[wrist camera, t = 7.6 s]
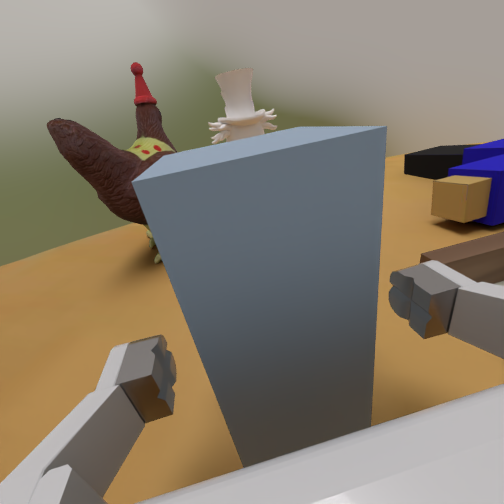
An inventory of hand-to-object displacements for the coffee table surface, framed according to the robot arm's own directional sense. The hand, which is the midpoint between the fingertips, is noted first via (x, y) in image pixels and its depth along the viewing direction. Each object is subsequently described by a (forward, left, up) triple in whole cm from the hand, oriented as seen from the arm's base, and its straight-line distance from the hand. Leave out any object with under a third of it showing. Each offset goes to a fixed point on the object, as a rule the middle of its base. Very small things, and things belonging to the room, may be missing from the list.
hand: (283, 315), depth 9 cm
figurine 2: (+21, +27, -7) cm, 35 cm away
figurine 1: (+4, +27, -7) cm, 28 cm away
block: (0, +1, -6) cm, 6 cm away
